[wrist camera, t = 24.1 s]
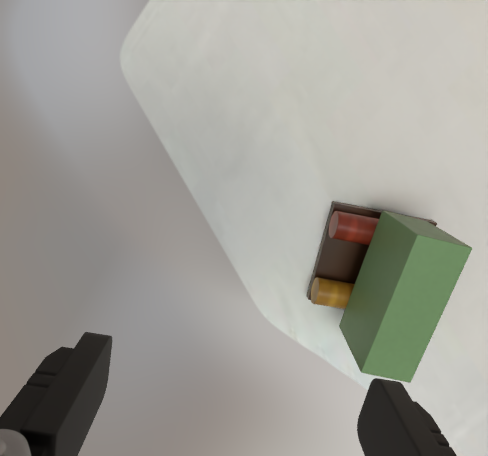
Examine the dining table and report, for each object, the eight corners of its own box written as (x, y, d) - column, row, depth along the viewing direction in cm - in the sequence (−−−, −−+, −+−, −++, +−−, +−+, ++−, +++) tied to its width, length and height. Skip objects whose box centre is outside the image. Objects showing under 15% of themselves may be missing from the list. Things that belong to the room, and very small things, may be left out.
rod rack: (306, 295, 47) (312, 312, 43) (332, 201, 43) (341, 210, 39) (400, 311, 48) (414, 329, 44) (432, 220, 44) (451, 231, 40)
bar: (338, 325, 43) (360, 372, 36) (382, 209, 39) (417, 234, 32) (380, 335, 44) (410, 382, 36) (427, 221, 40) (472, 248, 32)
